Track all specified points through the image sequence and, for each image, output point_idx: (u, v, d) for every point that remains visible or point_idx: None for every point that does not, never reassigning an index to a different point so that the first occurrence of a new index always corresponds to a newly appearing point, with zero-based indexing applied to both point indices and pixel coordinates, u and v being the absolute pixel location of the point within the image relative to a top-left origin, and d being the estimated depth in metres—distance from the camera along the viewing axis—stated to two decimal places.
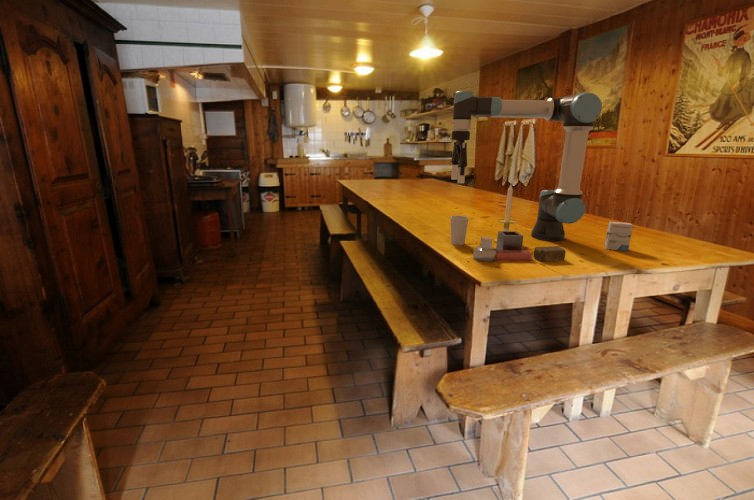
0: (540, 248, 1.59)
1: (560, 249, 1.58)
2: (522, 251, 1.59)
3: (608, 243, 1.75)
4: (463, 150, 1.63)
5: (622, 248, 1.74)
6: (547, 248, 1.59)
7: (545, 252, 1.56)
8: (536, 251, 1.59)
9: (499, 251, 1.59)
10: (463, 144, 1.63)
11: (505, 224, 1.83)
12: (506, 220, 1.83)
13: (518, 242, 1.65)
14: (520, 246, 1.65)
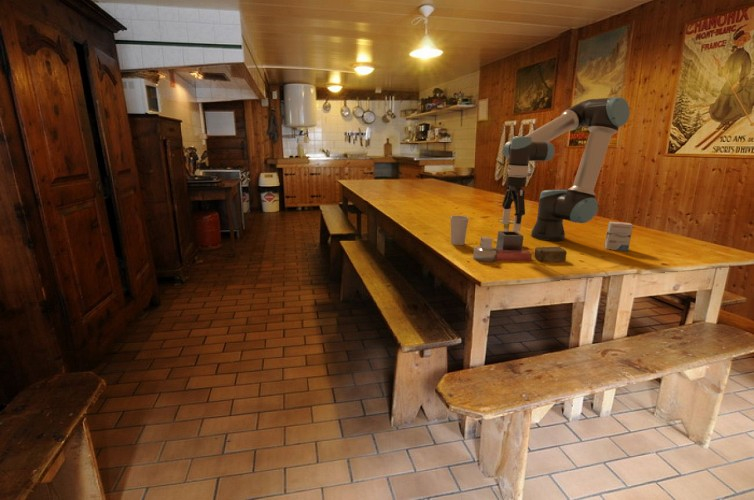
0: (540, 248, 1.58)
1: (561, 250, 1.57)
2: (522, 251, 1.59)
3: (608, 243, 1.75)
4: (521, 198, 1.56)
5: (622, 248, 1.74)
6: (548, 248, 1.58)
7: (545, 252, 1.56)
8: (537, 251, 1.58)
9: (499, 251, 1.59)
10: (521, 192, 1.56)
11: (505, 224, 1.83)
12: None
13: (518, 242, 1.65)
14: (520, 246, 1.65)
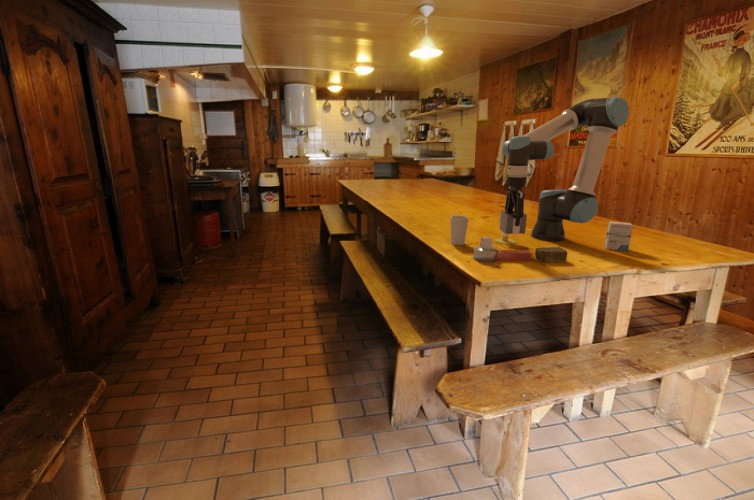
0: (541, 249, 1.58)
1: (562, 250, 1.57)
2: (522, 251, 1.59)
3: (608, 243, 1.75)
4: (520, 201, 1.57)
5: (622, 248, 1.74)
6: (548, 249, 1.58)
7: (546, 252, 1.55)
8: (537, 251, 1.58)
9: (499, 251, 1.59)
10: (521, 195, 1.56)
11: None
12: None
13: (522, 221, 1.62)
14: (524, 225, 1.63)
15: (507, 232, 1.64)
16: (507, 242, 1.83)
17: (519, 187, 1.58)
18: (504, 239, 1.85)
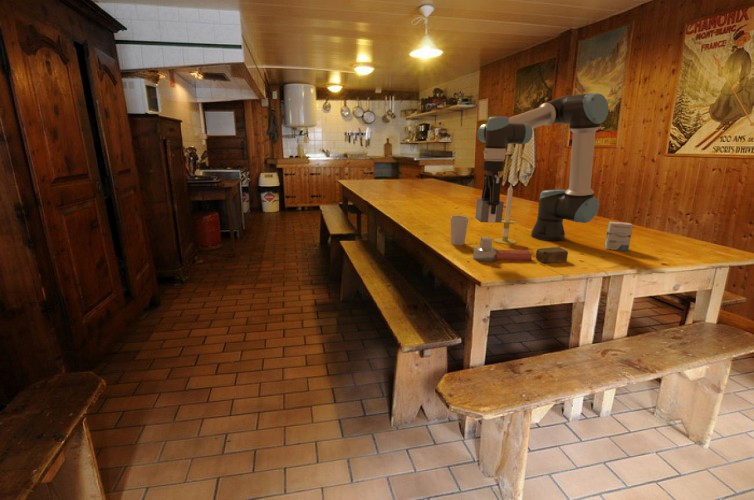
0: (543, 249, 1.57)
1: (562, 250, 1.57)
2: (522, 251, 1.59)
3: (608, 243, 1.75)
4: (496, 186, 1.45)
5: (622, 248, 1.74)
6: (549, 249, 1.57)
7: (548, 253, 1.54)
8: (539, 252, 1.57)
9: (499, 251, 1.59)
10: (497, 179, 1.44)
11: (505, 224, 1.83)
12: (506, 220, 1.83)
13: (498, 209, 1.50)
14: (500, 213, 1.51)
15: (482, 220, 1.51)
16: (507, 242, 1.83)
17: (496, 172, 1.47)
18: (504, 239, 1.85)
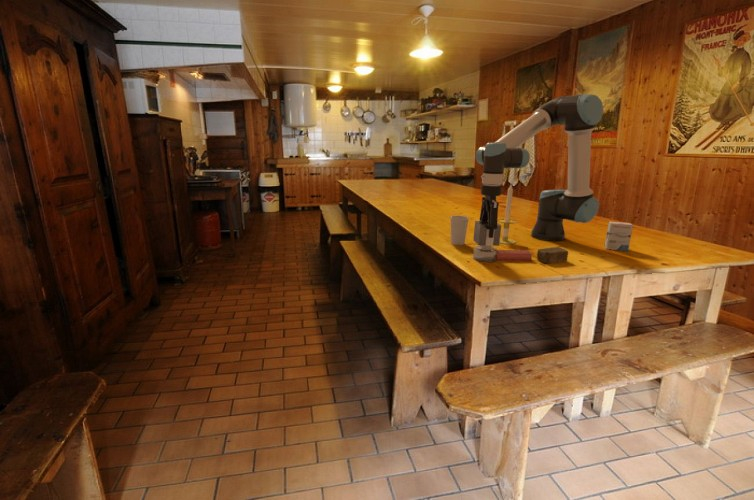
0: (544, 250, 1.56)
1: (563, 250, 1.57)
2: (522, 251, 1.59)
3: (608, 243, 1.75)
4: (494, 211, 1.48)
5: (622, 248, 1.74)
6: (550, 250, 1.57)
7: (550, 253, 1.54)
8: (541, 253, 1.56)
9: (499, 251, 1.59)
10: (495, 204, 1.47)
11: (505, 224, 1.83)
12: (506, 220, 1.83)
13: (496, 232, 1.53)
14: (498, 236, 1.53)
15: (480, 243, 1.54)
16: (507, 242, 1.83)
17: (493, 196, 1.49)
18: (504, 239, 1.85)
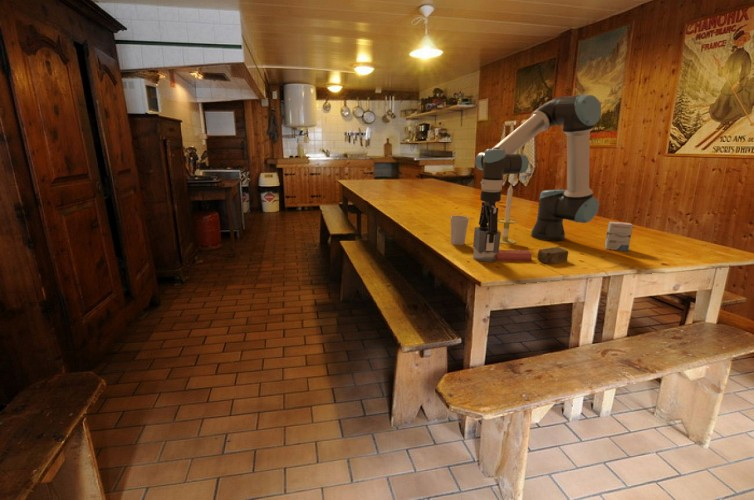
0: (545, 250, 1.56)
1: (563, 250, 1.57)
2: (522, 251, 1.59)
3: (608, 243, 1.75)
4: (494, 216, 1.48)
5: (622, 248, 1.74)
6: (551, 250, 1.56)
7: (552, 254, 1.53)
8: (542, 253, 1.55)
9: (499, 251, 1.59)
10: (494, 210, 1.48)
11: (505, 224, 1.83)
12: (506, 220, 1.83)
13: (495, 238, 1.54)
14: (497, 243, 1.54)
15: (480, 250, 1.55)
16: (507, 242, 1.83)
17: (493, 202, 1.50)
18: (504, 239, 1.85)
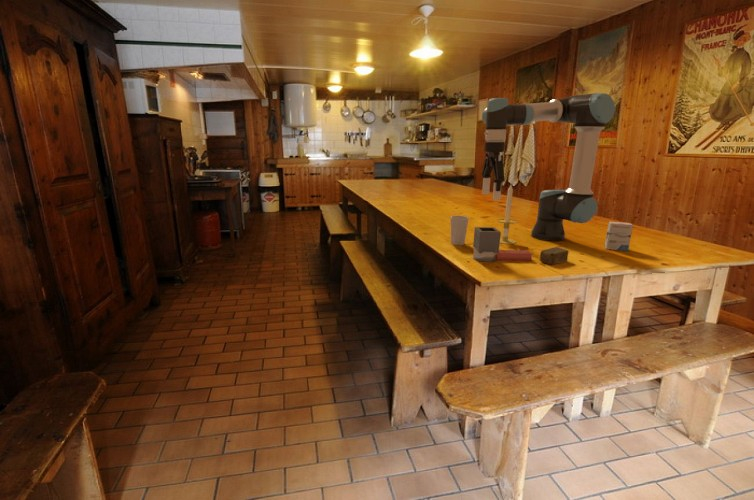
0: (547, 251, 1.55)
1: (563, 250, 1.57)
2: (522, 251, 1.59)
3: (608, 243, 1.75)
4: (499, 163, 1.47)
5: (622, 248, 1.74)
6: (553, 250, 1.56)
7: (555, 254, 1.53)
8: (545, 254, 1.54)
9: (499, 251, 1.59)
10: (499, 157, 1.47)
11: (505, 224, 1.83)
12: (506, 220, 1.83)
13: (495, 238, 1.54)
14: (497, 243, 1.54)
15: (480, 250, 1.55)
16: (507, 242, 1.83)
17: None
18: (504, 239, 1.85)
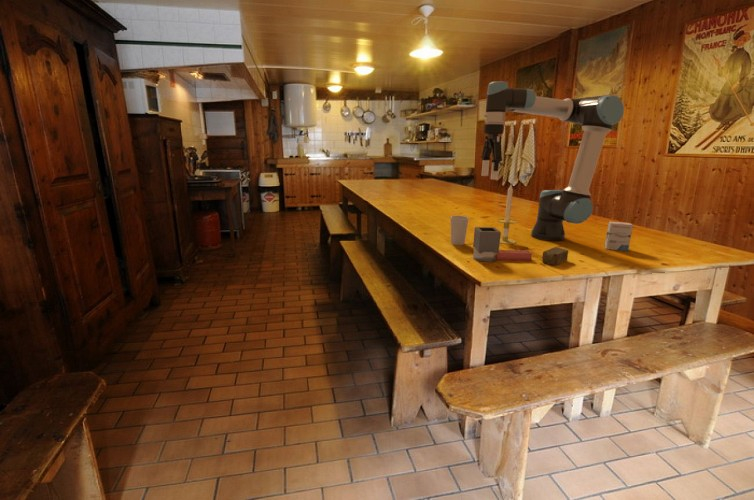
0: (550, 252, 1.54)
1: (564, 250, 1.57)
2: (522, 251, 1.59)
3: (608, 243, 1.75)
4: (497, 144, 1.54)
5: (622, 248, 1.74)
6: (554, 251, 1.55)
7: (558, 255, 1.52)
8: (548, 255, 1.53)
9: (499, 251, 1.59)
10: (497, 138, 1.54)
11: (505, 224, 1.83)
12: (506, 220, 1.83)
13: (495, 238, 1.54)
14: (497, 243, 1.54)
15: (480, 250, 1.55)
16: (507, 242, 1.83)
17: None
18: (504, 239, 1.85)
